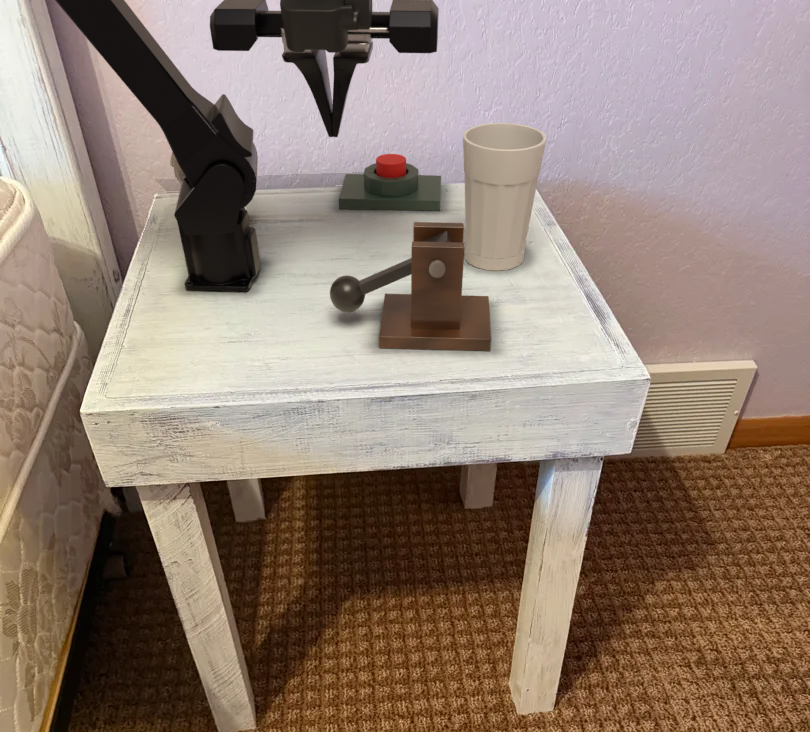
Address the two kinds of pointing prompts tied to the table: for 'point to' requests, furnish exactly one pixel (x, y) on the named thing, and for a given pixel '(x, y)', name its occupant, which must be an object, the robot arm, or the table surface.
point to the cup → (499, 191)
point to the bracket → (436, 299)
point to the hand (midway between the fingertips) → (333, 135)
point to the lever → (371, 282)
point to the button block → (391, 191)
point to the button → (391, 166)
